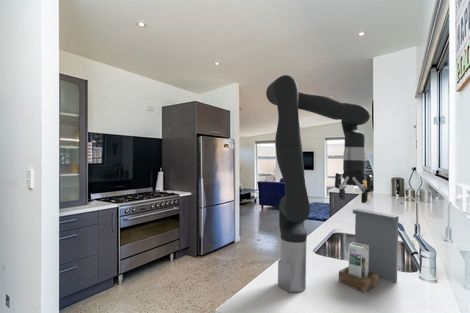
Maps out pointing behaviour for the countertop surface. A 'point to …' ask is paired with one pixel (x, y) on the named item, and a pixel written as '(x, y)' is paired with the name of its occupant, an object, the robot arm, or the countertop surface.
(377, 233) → the upright grey panel
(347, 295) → the countertop surface
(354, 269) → the syrup box
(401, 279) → the countertop surface
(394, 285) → the countertop surface
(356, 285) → the socket
